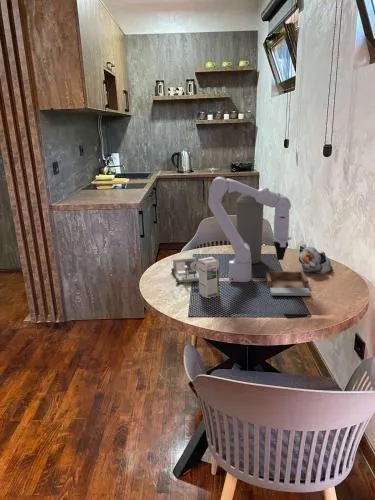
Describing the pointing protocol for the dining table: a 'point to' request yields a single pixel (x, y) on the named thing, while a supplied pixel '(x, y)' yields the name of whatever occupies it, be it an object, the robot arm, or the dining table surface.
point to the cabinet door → (290, 291)
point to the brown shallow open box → (286, 279)
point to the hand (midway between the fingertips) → (280, 259)
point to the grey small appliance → (185, 269)
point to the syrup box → (209, 277)
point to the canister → (250, 224)
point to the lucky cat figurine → (314, 260)
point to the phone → (295, 315)
